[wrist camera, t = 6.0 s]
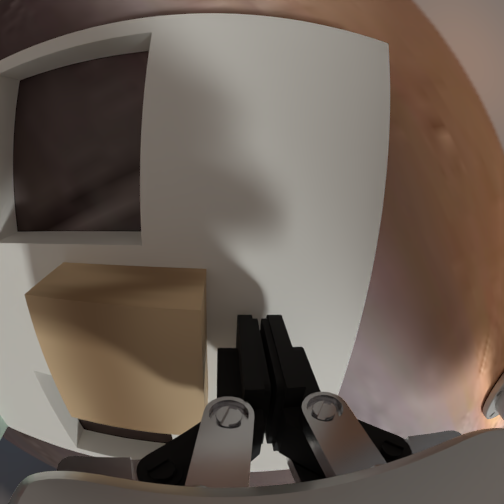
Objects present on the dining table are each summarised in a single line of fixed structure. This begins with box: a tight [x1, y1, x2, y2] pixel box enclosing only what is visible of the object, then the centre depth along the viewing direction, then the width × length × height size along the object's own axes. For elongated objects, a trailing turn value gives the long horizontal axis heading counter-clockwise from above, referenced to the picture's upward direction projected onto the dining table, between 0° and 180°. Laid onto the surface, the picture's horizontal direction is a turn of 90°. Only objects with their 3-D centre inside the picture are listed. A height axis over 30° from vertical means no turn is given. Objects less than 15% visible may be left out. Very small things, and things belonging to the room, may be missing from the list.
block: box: [24, 262, 208, 435], centre depth 10 cm, size 6×6×3 cm
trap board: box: [0, 13, 390, 472], centre depth 10 cm, size 26×25×4 cm
